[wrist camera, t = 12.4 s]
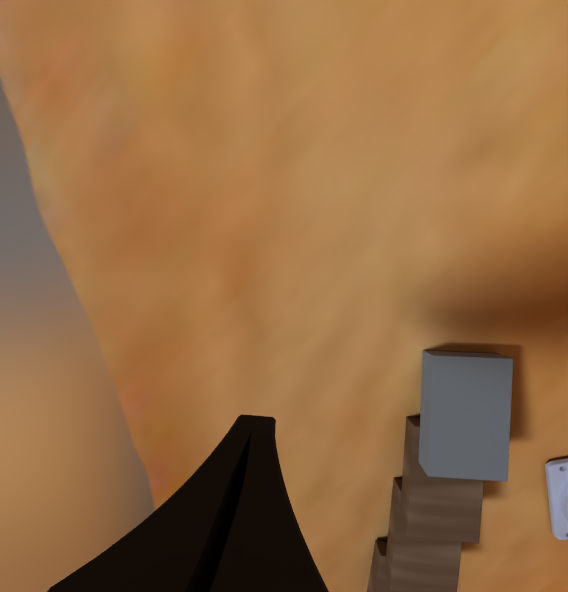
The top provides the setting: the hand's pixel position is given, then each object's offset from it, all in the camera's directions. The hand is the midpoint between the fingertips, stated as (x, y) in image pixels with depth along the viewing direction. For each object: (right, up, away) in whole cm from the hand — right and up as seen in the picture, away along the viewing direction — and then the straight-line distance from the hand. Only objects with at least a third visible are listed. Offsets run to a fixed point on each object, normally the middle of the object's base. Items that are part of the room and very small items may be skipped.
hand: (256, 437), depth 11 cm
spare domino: (+13, +1, +9) cm, 16 cm away
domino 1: (+13, -4, +10) cm, 17 cm away
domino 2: (+13, -10, +12) cm, 20 cm away
